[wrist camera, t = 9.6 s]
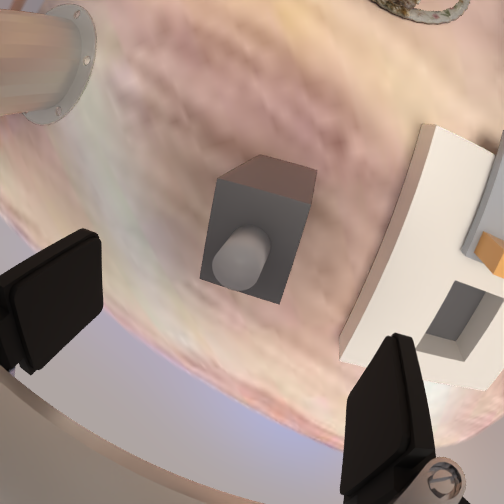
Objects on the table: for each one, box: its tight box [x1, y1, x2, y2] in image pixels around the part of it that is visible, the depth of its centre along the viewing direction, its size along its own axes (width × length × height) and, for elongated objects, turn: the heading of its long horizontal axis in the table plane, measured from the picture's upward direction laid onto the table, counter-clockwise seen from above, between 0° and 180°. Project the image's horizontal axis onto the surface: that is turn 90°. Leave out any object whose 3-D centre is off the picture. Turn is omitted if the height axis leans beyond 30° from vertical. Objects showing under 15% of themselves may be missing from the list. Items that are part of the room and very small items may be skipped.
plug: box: [200, 155, 317, 304], centre depth 17 cm, size 4×5×11 cm
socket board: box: [339, 124, 504, 391], centre depth 19 cm, size 16×18×3 cm
